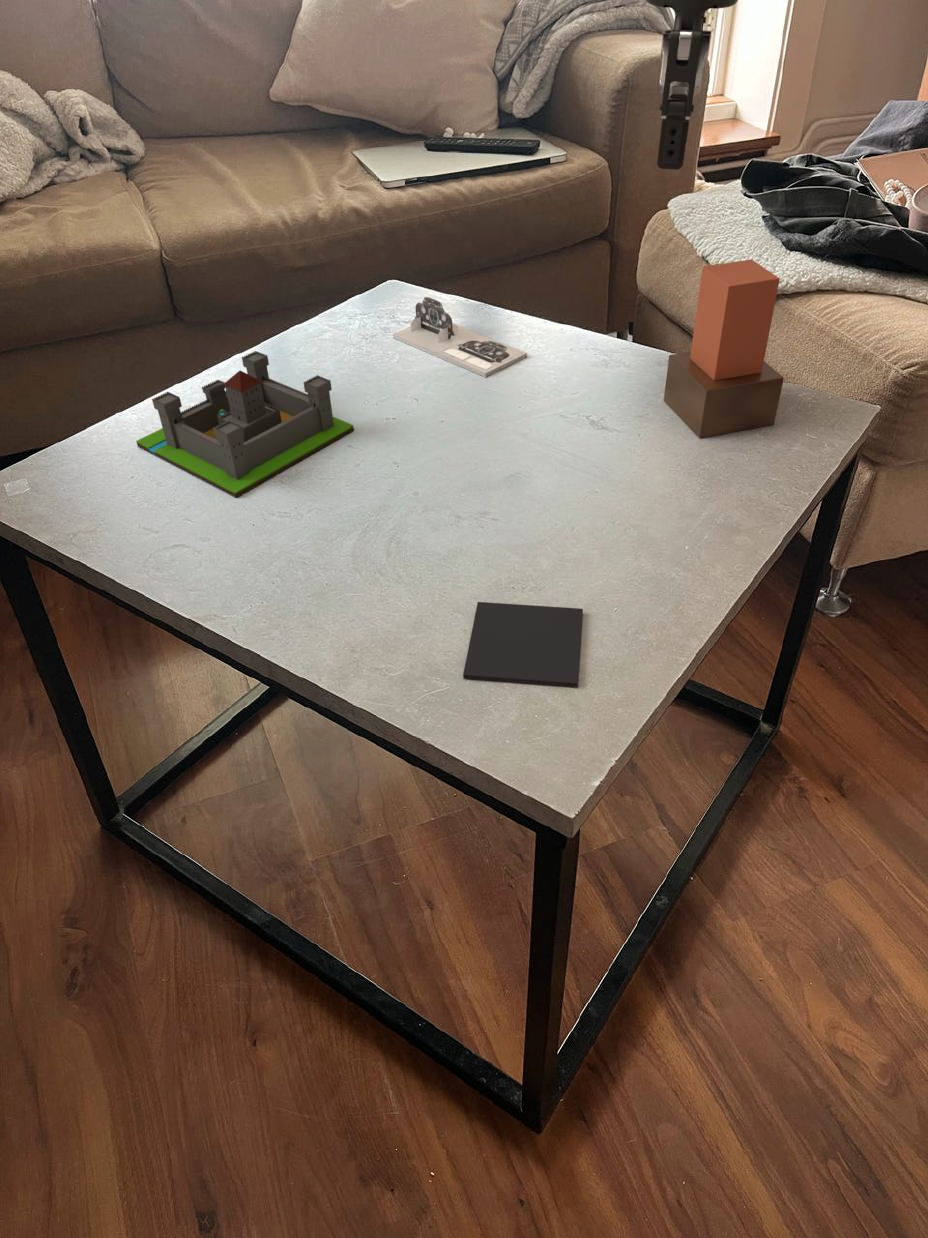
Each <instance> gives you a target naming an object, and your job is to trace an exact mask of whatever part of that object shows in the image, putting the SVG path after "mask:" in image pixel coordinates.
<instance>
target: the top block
mask: <svg viewBox="0 0 928 1238" xmlns="http://www.w3.org/2000/svg"><path fill="white" fill-rule="evenodd" d="M780 279H781V278H780V277H778V276H777V275H775V274H774V273H772V272H771V271H769V270H768V269H767V268H765V267H763V266H762V265H761V264H759V263H758V262H756V261H755V260H753V259H745V260H744V259H743V260H738V261H737V260H736V261H732V262H731V261H730V262H724V263H718V264H710V265H704V266H702V269H701V276H700V281H699V282H700V283H699V290H698V297H697V304H696V310H695V311H696V312H695V319H694V328H693V332H692V333H693V334H692V341H691V349H690V352H691V355H690V359H691V360H692V361H693V362H694V363H695V364H696V365H697V366H699V367H700V368H701V369H702V370H703V371H704V372H705V373H706V374H707V375H708V376H709V377H710V378H712V379H713V380H714V381H716V380H721V379H727V378H733V377H739V376H745V375H751V374H757V373H762V368H763V363H764V362H765V357H766V354H767V353H766V352H767V347H768V341H769V337H770V331H771V327H772V321H773V317H774V310H775V306H776V301H777V295H778V290H779V286H780Z"/></svg>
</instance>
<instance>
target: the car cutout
mask: <svg viewBox="0 0 928 1238" xmlns="http://www.w3.org/2000/svg"><path fill="white" fill-rule="evenodd" d="M392 338H393V339H395V340H397V341H400V342H402V343H404V344H407V345H409V346H411V347H413V348H416V349H418V350H420V351H423V352H425V353H428V354H430V355H432V356H434V357H437V358H439V359H441V360H443V361H446V362H449V363H451V364H454V365H456V366H458V367H460V368H462V369H465V370H468V371H470V372H472V373H475V374H477V375H479V376H481V377H484V378H487V377H489V376H491V375H494V374H495V373H497V372H500V371H501V370H503V369H505V368H507V367H510V366H511V365H514V364H515V363H517V362H519V361H521V360H523V359H525V358H527V357H528V352H526V351H524V350H521V349H519V348H516V347H513V346H511V345H508V344H506V343H503V342H501V341H498V340H495V339H493V338H492V337H491V338H490V337H487V336H485V335H482V334H480V333H477V332H475V331H472V330H470V329H467V328H465V327H463V326H460V325H457V324H454V323H453V319H452V317H451V315H450V314H449V313H448V312H446V311H445V309H444V305H443V304H442V303H441V302H440V301H439V300H437V299H435V298H433V297H430V296H429V297H428V296H425V297H423V301H422V302H417V303H416V304H415V316H414V319H413V320H412V321H411V323H410V326H409V327H406V328H404V329H402V330H399V331H397V332H395V333H393V334H392Z"/></svg>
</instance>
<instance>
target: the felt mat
mask: <svg viewBox="0 0 928 1238" xmlns="http://www.w3.org/2000/svg"><path fill="white" fill-rule="evenodd" d="M583 611H584V609H583V608H579V607H578V608H577V607H563V606H549V605H531V604H517V603H502V602H501V603H500V602H487V601H477V603H476V609H475V614H474V618H473V623H472V624H473V625H472V628H471V634H470V638H469V644H468V648H467V653H466V657H465V663H464V668H463V673H462V678H463V679H465V680H479V681H480V680H481V681H492V682H505V683H518V684H531V685H542V686H543V685H545V686H555V687H556V686H557V687H570V688H578V686H579V673H580V659H581V658H580V657H581V644H582V639H581V638H582V627H583V614H584V613H583Z"/></svg>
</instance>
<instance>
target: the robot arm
mask: <svg viewBox="0 0 928 1238" xmlns="http://www.w3.org/2000/svg"><path fill="white" fill-rule="evenodd" d="M646 1H647V3H648V4H650V5H651V6H653V7H658V8H663V9H664V8H665V9H666V8H669V9H672V10H673V12H674V22H673V28H672V29H664V33H662V40H661V46H660V59H661V60H662V61H661V68H660V69H661V70H660V77H659V87H658V89H659V92H660V94H662V101H661V103H659V116H660V120H661V125H660V126H661V128H660V135H659V142H658V143H659V144H658V153H657V162H656V164H657V168H659V169H661V170H676V171H677V170H678V171H679V170H681V169H682V168H683V165H684V161H685V155H686V154H685V153H686V145H687V142H688V135H689V127H690V122H691V117H694V109H695V105H694V99H695V97H696V96H698V95H699V94H700V92H701V88H702V84H703V83H702V82H703V75H704V67H705V62H706V61H707V60H708V58H709V54H710V48H711V47H710V46H711V40H712V30H704V24H707V16H706V13H707V11H708V10H711V9H715V10H716V9H726V8H730V7H733V6H734V5H736V4H737V3H738V1H739V0H646Z"/></svg>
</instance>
